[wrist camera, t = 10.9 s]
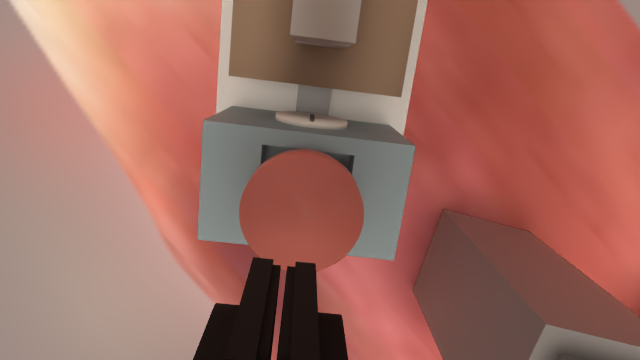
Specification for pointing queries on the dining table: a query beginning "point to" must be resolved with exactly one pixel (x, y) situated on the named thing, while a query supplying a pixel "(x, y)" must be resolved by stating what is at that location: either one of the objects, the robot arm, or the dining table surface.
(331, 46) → the carriage
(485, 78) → the dining table surface
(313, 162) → the button
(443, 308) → the perfume bottle
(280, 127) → the end cabinet
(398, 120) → the rail bed
